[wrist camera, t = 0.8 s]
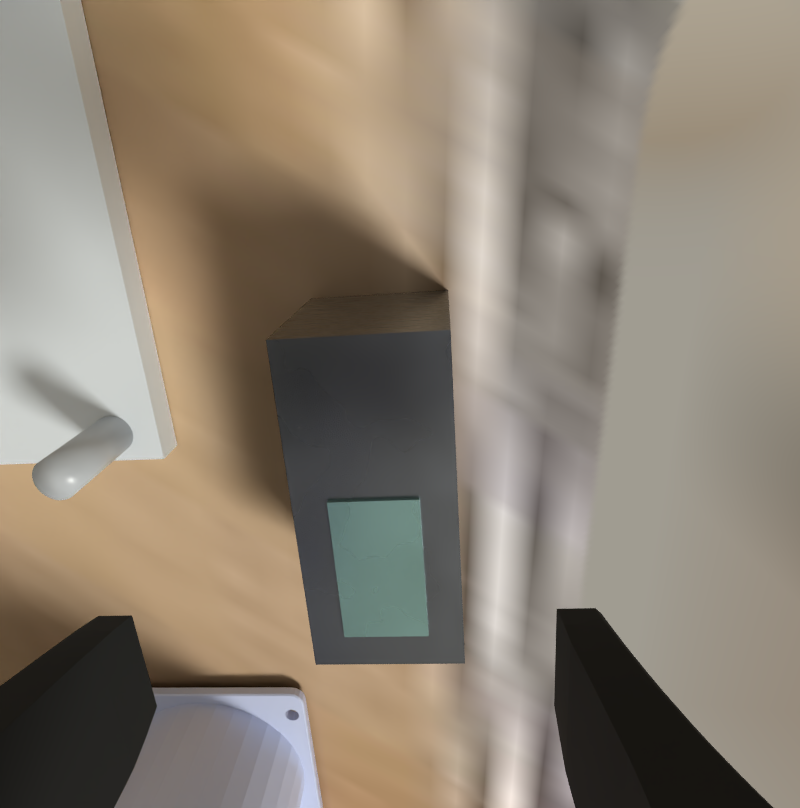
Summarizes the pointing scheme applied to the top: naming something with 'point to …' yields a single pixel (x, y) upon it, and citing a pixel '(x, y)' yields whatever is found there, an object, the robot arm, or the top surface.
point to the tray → (68, 266)
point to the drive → (373, 475)
